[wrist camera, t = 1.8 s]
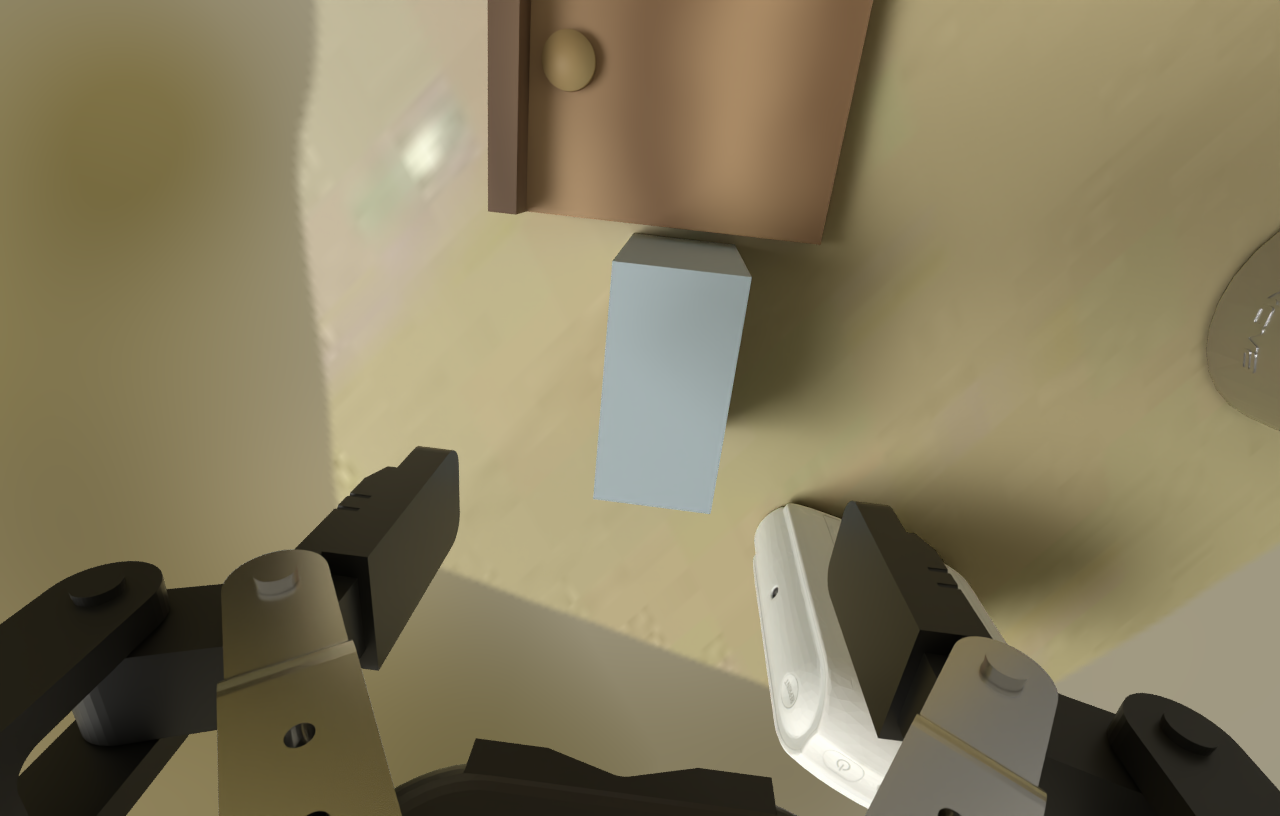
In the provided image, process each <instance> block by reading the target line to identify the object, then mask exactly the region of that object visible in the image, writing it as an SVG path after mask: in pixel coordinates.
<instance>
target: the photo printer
mask: <svg viewBox="0 0 1280 816" xmlns="http://www.w3.org/2000/svg"><path fill="white" fill-rule="evenodd" d="M841 520H842V519H840V518H837V517H835V516H832V515H829V514H826V513H824V512H821V511H818V510H815V509H812V508H809V507H806V506H802V505H798V504H793V503H788V504H786V506H785V507H780V508H777V509H776V510H774V511H772V512H771V513H769V514H768V515H767V516H766V517H765V518H764V519H763V520H762V522H761V523H760V524H759V526H758V528H757V530H756V533H755V539H754V542H755V551H756V554H755V556H754V558H753V570H754V578H755V586H756V593H757V601H758V608H759V616H760V622H761V631H762V638H763V645H764V652H765V660H766V667H767V675H768V681H769V688H770V694H771V702H772V709H773V716H774V723H775V729H776V732H777V735H778V738H779V741H780V743H781V745H782V747H783V749H784V750H785V751H786V753H788V754H789V755H790V756H791V757H792V758H793V759H794V760H796V761H797V762H798V763H799V764H800V765H801V766H803V767H804V768H805V769H806V770H808V771H809V772H810V773H812V774H813V775H814V776H816V777H817V778H818V779H820V780H821V781H823V782H824V783H826V784H827V785H829V786H830V787H832V788H833V789H835V790H836V791H838V792H840V793H842V794H843V795H845V796H846V797H848V798H850V799H852V800H853V801H855V802H857V803H858V804H860V805H862V806H864V807H866V808H868V809H869V807H870V805H871V803H872V801H873V799H874V797H875V795H876V793H877V791H878V789H879V787H880V785H881V783H882V781H883V779H884V777H885V775H886V773H887V771H888V769H889V767H890V765H891V763H892V761H893V759H894V758H895V756H896V754H897V752H898V750H899V748H900V746H901V744H902V742H903V741H895V740H887V739H880V738H878V737H877V734H876V731H875V728H874V725H873V722H872V719H871V716H870V713H869V710H868V707H867V704H866V702H865V699H864V696H863V693H862V690H861V687H860V684H859V681H858V678H857V675H856V672H855V669H854V666H853V663H852V660H851V657H850V654H849V651H848V648H847V646H846V643H845V640H844V637H843V634H842V631H841V628H840V625H839V622H838V619H837V616H836V613H835V610H834V607H833V604H832V601H831V598H830V595H829V591H828V582H827V577H828V567H829V562H830V558H831V555H832V551H833V548H834V545H835V541H836V538H837V534H838V531H839V527H840V524H841ZM945 566H946V567H947V569H948V573H950V574H951V575H952V577H953V578H954V580H955V581H956V583H957V584H958V589H961V591H962V592H963V594H964V595H965V597H966V598H967V600H968V601H969V603H970V604H971V606H972V608H973V609H974V611H975V612H976V614H977V615H978V617H979V618H980V620H981V621H982V623H983V625H984V626H985V628H986V629H987V631H988V632H989V634H990V635H991V637H992V638H993V639H994V640H997V641H1000V642H1003V643H1005V644H1007V643H1006V641H1005V640H1004V638H1003V637H1002V635H1001V634H1000V632H999V631H998V629H997V627H996V626H995V624H994V623H993V621H992V619H991V618H990V616H989V615H988V613H987V612H986V610H985V608H984V607H983V605H982V603H981V602H980V601H979V599H978V597H977V595H976V594H975V592H974V591H973V590H972V588H971V586H970V585H969V584H968V582H967V581H966V580H965V579H964V578H963V577H962V576H961V575H960V574H959V573H958V572H957V571H955V570H954V569H952V568H951V567H949V566H948V565H946V564H945ZM1007 645H1008V644H1007Z"/></svg>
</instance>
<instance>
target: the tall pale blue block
mask: <svg viewBox="0 0 1280 816" xmlns="http://www.w3.org/2000/svg"><path fill="white" fill-rule="evenodd" d="M751 279H752V277H751V275H750V273H749V271H748V269H747V267H746V265H745V263H744V261H743V260H742V258H741V256H740V254H739V252H738V250H737V248H736V246H735V245H732V244H723V243H715V242H706V241H697V240H688V239H680V238H671V237H662V236H653V235H645V234H636V233H634V234H633V235H632V236H631V238H630V239H629V240H628V242H627V243H626V244H625V245H624V247H623V248H622V249H621V251H620V252H619V253H618V255H617V256H616V257H615V259H614V260H613V262H612V274H611V287H610V299H609V312H608V324H607V336H606V349H605V361H604V374H603V386H602V398H601V411H600V423H599V436H598V448H597V460H596V473H595V485H594V497H593V499H598V500H605V501H613V502H621V503H629V504H636V505H644V506H652V507H660V508H667V509H675V510H683V511H691V512H698V513H706V514H710V513H711V508H712V502H713V496H714V490H715V485H716V479H717V473H718V468H719V462H720V456H721V450H722V445H723V439H724V433H725V428H726V422H727V416H728V411H729V405H730V399H731V393H732V388H733V382H734V376H735V371H736V365H737V359H738V353H739V348H740V342H741V336H742V331H743V325H744V319H745V313H746V308H747V302H748V296H749V291H750V285H751Z"/></svg>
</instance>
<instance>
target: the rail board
mask: <svg viewBox="0 0 1280 816" xmlns="http://www.w3.org/2000/svg"><path fill="white" fill-rule="evenodd" d="M872 4H873V0H488V211H490V212H499V213H508V214H519V213H522V212H525V211H529V212H537V213H546V214H555V215H564V216H573V217H581V218H590V219H599V220H608V221H617V222H625V223H634V224H643V225H652V226H661V227H669V228H678V229H687V230H696V231H705V232H714V233H722V234H731V235H740V236H749V237H758V238H766V239H775V240H784V241H793V242H802V243H810V244H819V245H820V244H821V240H822V235H823V230H824V226H825V221H826V217H827V212H828V207H829V203H830V198H831V193H832V189H833V184H834V180H835V175H836V170H837V166H838V161H839V156H840V152H841V147H842V143H843V138H844V133H845V129H846V124H847V120H848V115H849V110H850V106H851V101H852V96H853V92H854V87H855V83H856V78H857V73H858V69H859V64H860V59H861V55H862V50H863V46H864V41H865V36H866V32H867V27H868V22H869V18H870V13H871V9H872Z"/></svg>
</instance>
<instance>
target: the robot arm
mask: <svg viewBox="0 0 1280 816" xmlns="http://www.w3.org/2000/svg"><path fill="white" fill-rule="evenodd" d="M1206 352H1207V361H1208V370H1209V373H1210V375H1211V378H1212V380H1213V382H1214V385H1215V387H1216V389H1217V391H1218V392H1219V393H1220V394H1221V395H1222V397H1223V398H1224V399H1225V400H1226V401H1227V402H1228V404H1229V405H1230V406H1232V407H1234V408H1235V409H1237V410H1238V411H1240V412H1241V413H1243V414H1244V415H1246V416H1248V417H1250V418H1252V419H1254V420H1256V421H1258V422H1261V423H1263V424H1265V425H1267V426H1269V427H1272V428H1274V429H1276V430H1278V431H1280V231H1279V232H1278V233H1277V234H1275V235H1274V236H1273V237H1272V238H1271V239H1270V240H1268V241H1267V242H1266V243H1265V244H1264V245H1263V246H1261V247H1260V248H1259V249H1258V250H1257V251H1256V252H1255V253H1254V254H1253V255H1252V256H1251V257H1250V259H1249V260H1248V261H1247V262H1246V263H1245V264H1244V265H1243V267H1242V268H1241V269H1240V270H1239V271H1238V272H1237V274H1236V275H1235V276H1234V278H1233V279H1232V281H1231V282H1230V284H1229V286H1228V287H1227V289H1226V291H1225V292H1224V294H1223V295H1222V297H1221V299H1220V300H1219V303H1218V305H1217V308H1216V311H1215V313H1214V316H1213V318H1212V321H1211V324H1210V327H1209V334H1208V341H1207V347H1206ZM459 518H460V507H459V462H458V455H457V453H456V451H454V450H446V449H438V448H430V447H422V446H418V447H416V448H415V449H414V450H413V451H412V452H411V453H410V454H409V455H408V456H407V458H406V459H405V460H404V461H403V462H402V463H401V464H400V465H399V466H398V467H397V468H396V467H386V468H384V469H382V470H380V471H378V472H376V473H374V474H372V475H370V476H368V477H366V478H364V479H363V480H362V481H361V482H360V484H359V485H358V486H357V487H356V488H355V489H354V490H353V491H352V492H351V493H350V496H347V497H346V498H345V499H344V500H343V501H342V502H341V503H340V504H339V505H338V508H337V509H334V510H333V511H332V512H331V513H330V514H329V515H328V516H327V517H326V518H325V519H324V520H323V521H322V522H321V523H320V524H319V525H318V526H317V527H316V528H315V529H314V530H313V531H312V532H311V533H310V534H309V535H308V536H307V537H306V538H305V539H304V540H303V541H302V542H301V543H300V544H299V545H298V546H297V547H296V548H295V549H294V550H282V551H276V552H272V553H268V554H264V555H262V556H259V557H257V558H254V559H252V560H250V561H248V562H246V563H244V564H243V565H241V566H239V567H238V568H237V569H235V570H234V571H233V572H232V573H231V574H230V575H229V576H228V577H227V579H226V580H225V581H224V583H223V584H218V585H207V586H197V587H186V588H177V589H176V588H175V589H166V586H165V582H164V579H163V575H162V572H161V570H160V569H159V568H158V567H156V566H154V565H153V564H149V563H145V562H139V561H127V562H116V563H110V564H105V565H101V566H97V567H94V568H90V569H87V570H85V571H82V572H79V573H77V574H74V575H72V576H70V577H68V578H66V579H64V580H62V581H60V582H59V583H57V584H55V585H54V586H52V587H51V588H49V589H48V590H47V591H45V592H44V593H42V594H41V595H40V596H38V597H37V598H36V599H34V600H33V601H32V602H30V603H29V604H28V605H26V606H25V607H23V608H22V609H21V610H19V611H18V612H17V613H15V614H14V615H12V616H11V617H10V618H8V619H7V620H6V621H4V622H3V623H2V624H0V816H126V815H127V813H128V812H129V811H130V810H131V808H132V807H133V806H134V805H135V803H136V802H137V801H138V799H139V798H140V797H141V796H142V794H143V793H144V792H145V790H146V789H147V788H148V787H149V785H150V784H151V783H152V782H153V780H154V779H155V778H156V776H157V775H158V774H159V773H160V771H161V770H162V769H163V767H164V766H165V765H166V763H167V762H168V761H169V760H170V758H171V757H172V756H173V754H174V753H175V752H176V751H177V749H178V748H179V747H180V746H181V744H182V743H183V742H184V741H185V739H186V738H187V737H188V735H189V734H194V733H200V732H207V731H213V730H217V747H218V748H217V750H218V798H219V799H218V800H219V801H218V802H219V816H797V815H795V814H793V813H791V812H789V811H787V810H785V809H783V808H781V807H778V806H776V805H775V799H774V792H773V785H772V778H770V777H762V776H754V775H747V774H739V773H731V772H724V771H717V770H709V769H702V768H695V769H687V770H679V771H671V772H663V773H655V774H647V775H639V776H631V777H621V776H616V775H613V774H611V773H608V772H606V771H603V770H601V769H598V768H596V767H594V766H591V765H588V764H586V763H584V762H581V761H579V760H576V759H574V758H571V757H569V756H566V755H564V754H562V753H559V752H557V751H554V750H552V749H549V748H544V747H536V746H529V745H521V744H514V743H506V742H499V741H491V740H484V739H476V740H475V742H474V745H473V748H472V751H471V754H470V757H469V760H468V762H467V764H461V765H455V766H450V767H446V768H442V769H438V770H435V771H432V772H429V773H427V774H424V775H421V776H418V777H416V778H414V779H412V780H410V781H408V782H406V783H404V784H402V785H400V786H398V787H396V788H395V789H394V785H393V782H392V778H391V774H390V771H389V767H388V763H387V760H386V756H385V752H384V749H383V745H382V742H381V738H380V734H379V731H378V727H377V724H376V720H375V717H374V713H373V710H372V705H371V702H370V698H369V695H368V691H367V687H366V684H365V680H364V677H363V673H362V669H361V668H363V669H371V670H379V669H380V667H381V666H382V664H383V662H384V661H385V659H386V657H387V656H388V654H389V652H390V651H391V649H392V647H393V646H394V644H395V642H396V640H397V639H398V637H399V635H400V633H401V632H402V630H403V629H404V627H405V625H406V623H407V622H408V620H409V618H410V617H411V615H412V613H413V612H414V610H415V608H416V607H417V605H418V603H419V601H420V600H421V598H422V596H423V595H424V593H425V591H426V590H427V588H428V586H429V584H430V583H431V581H432V579H433V578H434V576H435V574H436V572H437V571H438V569H439V568H440V566H441V564H442V562H443V561H444V559H445V557H446V556H447V554H448V552H449V551H450V549H451V547H452V545H453V543H454V541H455V538H456V535H457V531H458V526H459ZM827 582H828V591H829V595H830V598H831V601H832V604H833V607H834V610H835V613H836V616H837V619H838V622H839V625H840V628H841V631H842V634H843V637H844V640H845V643H846V646H847V648H848V651H849V654H850V657H851V660H852V663H853V666H854V669H855V672H856V675H857V678H858V681H859V684H860V687H861V690H862V693H863V696H864V699H865V702H866V704H867V707H868V710H869V713H870V716H871V719H872V722H873V725H874V728H875V731H876V734H877V737H878V738H880V739H887V740H895V741H903V742H902V744H901V746H900V748H899V750H898V752H897V754H896V756H895V758H894V759H893V761H892V763H891V765H890V767H889V769H888V771H887V773H886V775H885V777H884V779H883V781H882V783H881V785H880V787H879V789H878V791H877V793H876V795H875V797H874V799H873V801H872V803H871V805H870V807H869V809H868V811H867V813H866V815H865V816H1280V791H1279V790H1278V789H1277V788H1276V786H1274V784H1273V783H1272V782H1271V781H1270V780H1269V779H1268V777H1267V776H1266V775H1265V774H1264V773H1263V772H1262V771H1261V770H1260V768H1259V767H1258V766H1257V765H1256V764H1255V763H1254V762H1253V761H1252V759H1251V758H1250V757H1249V756H1248V755H1247V754H1246V753H1245V752H1244V751H1243V749H1242V748H1241V747H1240V746H1239V745H1238V744H1237V743H1236V742H1235V741H1234V740H1233V739H1232V738H1231V737H1230V736H1229V735H1228V734H1226V733H1225V732H1224V731H1223V730H1222V729H1221V728H1219V727H1218V726H1216V725H1215V724H1214V723H1213V722H1211V721H1210V720H1208V719H1207V718H1205V717H1204V716H1202V715H1201V714H1199V713H1197V712H1195V711H1193V710H1192V709H1190V708H1188V707H1186V706H1184V705H1182V704H1180V703H1177V702H1175V701H1173V700H1170V699H1167V698H1164V697H1161V696H1157V695H1153V694H1146V693H1136V694H1132V695H1129V696H1128V697H1127V698H1126V699H1125V700H1124V701H1123V703H1122V705H1121V706H1120V708H1119V710H1118V711H1117V713H1116V714H1114V713H1111V712H1108V711H1106V710H1102V709H1100V708H1097V707H1094V706H1092V705H1089V704H1086V703H1083V702H1080V701H1077V700H1075V699H1072V698H1069V697H1066V696H1064V695H1061V694H1059V693H1058V692H1057V688H1056V686H1055V684H1054V682H1053V681H1052V679H1051V678H1050V676H1049V675H1048V674H1047V673H1046V672H1045V670H1044V669H1043V668H1042V667H1041V666H1039V665H1038V664H1037V663H1036V662H1035V661H1034V660H1032V659H1031V658H1030V657H1028V656H1027V655H1025V654H1024V653H1022V652H1021V651H1019V650H1017V649H1015V648H1014V647H1012V646H1009V645H1007V644H1005V643H1003V642H1000V641H997V640H994V639H993V638H992V637H991V635H990V634H989V632H988V631H987V629H986V628H985V626H984V625H983V623H982V621H981V620H980V618H979V617H978V615H977V614H976V612H975V611H974V609H973V608H972V606H971V604H970V603H969V601H968V600H967V598H966V597H965V595H964V594H963V592H962V591H961V589H958V584H957V583H956V581H955V580H954V578H953V577H952V575H951V574H950V573H948V569H947V567H946V566H945V564H944V563H943V561H942V560H941V558H940V557H939V555H938V554H937V552H936V551H935V550H934V549H933V548H932V547H930V546H929V545H928V544H927V543H926V542H924V541H923V540H922V539H921V538H920V537H918V536H917V535H916V534H915V533H907V532H906V531H905V529H904V528H903V526H902V524H901V523H900V521H899V519H898V518H897V516H896V514H895V513H894V511H893V509H892V508H891V507H890V506H888V505H880V504H872V503H864V502H856V501H850V502H849V503H848V504H847V506H846V508H845V510H844V513H843V517H842V520H841V524H840V527H839V531H838V534H837V538H836V541H835V545H834V548H833V551H832V555H831V558H830V562H829V567H828V577H827ZM70 711H72V712H73V714H74V717H75V719H76V720H75V721H74V722H73V723H72V724H71V725H70V726H69V727H68V728H67V729H66V730H65V731H64V732H63V733H62V734H61V735H60V736H59V737H58V738H57V739H56V740H55V741H54V742H53V743H52V744H51V745H50V746H49V747H48V748H47V749H46V750H45V751H44V752H43V753H42V754H41V755H40V756H39V757H38V758H37V759H36V760H35V761H34V762H33V763H32V764H31V765H30V766H29V767H28V768H27V769H26V770H25V771H24V772H23V773H22V774H21V775H20V776H19V773H20V770H21V768H22V765H23V763H24V761H25V760H26V758H27V757H28V755H29V754H30V752H31V751H32V750H33V748H34V747H35V746H36V745H37V744H38V743H39V742H40V741H41V740H42V739H43V738H44V737H45V736H46V735H47V734H48V733H49V732H50V731H51V730H52V729H53V728H54V727H55V726H56V725H57V724H58V723H59V722H60V721H61V720H63V719H64V717H66V716H67V715H68V714H69V713H70ZM18 776H19V777H18Z"/></svg>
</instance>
